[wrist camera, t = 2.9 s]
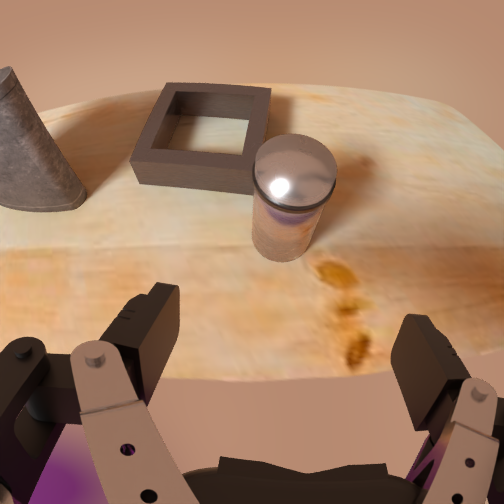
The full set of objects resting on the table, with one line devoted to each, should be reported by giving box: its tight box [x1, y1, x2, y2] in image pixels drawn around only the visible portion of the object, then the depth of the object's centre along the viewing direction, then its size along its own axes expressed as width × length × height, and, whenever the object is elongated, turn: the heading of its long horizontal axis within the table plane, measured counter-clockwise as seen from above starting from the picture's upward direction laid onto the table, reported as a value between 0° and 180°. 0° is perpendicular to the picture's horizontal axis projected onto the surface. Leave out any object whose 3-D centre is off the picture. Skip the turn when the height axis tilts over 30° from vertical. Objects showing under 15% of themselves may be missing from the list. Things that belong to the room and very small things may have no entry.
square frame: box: [130, 83, 271, 196], centre depth 29 cm, size 11×11×4 cm
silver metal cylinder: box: [252, 134, 337, 262], centre depth 23 cm, size 5×5×10 cm
